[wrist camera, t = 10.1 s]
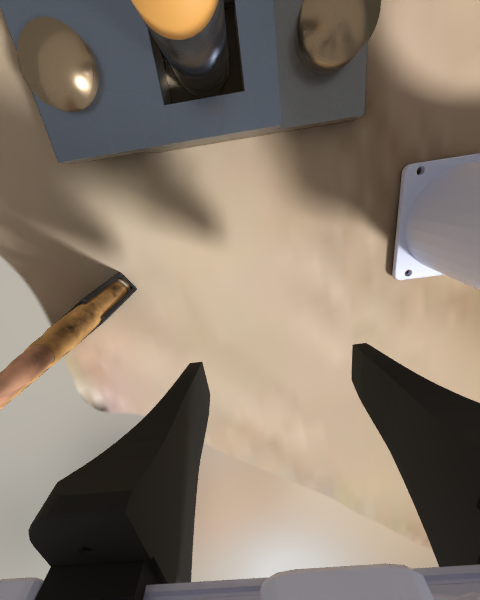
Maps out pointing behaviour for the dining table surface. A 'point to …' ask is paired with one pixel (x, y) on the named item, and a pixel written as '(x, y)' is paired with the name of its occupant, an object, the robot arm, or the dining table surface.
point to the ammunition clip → (64, 336)
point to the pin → (190, 40)
